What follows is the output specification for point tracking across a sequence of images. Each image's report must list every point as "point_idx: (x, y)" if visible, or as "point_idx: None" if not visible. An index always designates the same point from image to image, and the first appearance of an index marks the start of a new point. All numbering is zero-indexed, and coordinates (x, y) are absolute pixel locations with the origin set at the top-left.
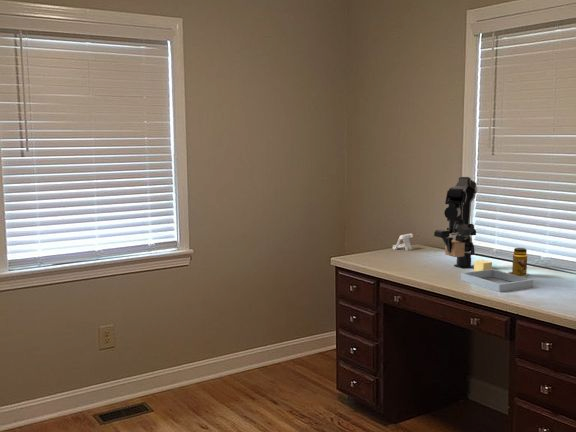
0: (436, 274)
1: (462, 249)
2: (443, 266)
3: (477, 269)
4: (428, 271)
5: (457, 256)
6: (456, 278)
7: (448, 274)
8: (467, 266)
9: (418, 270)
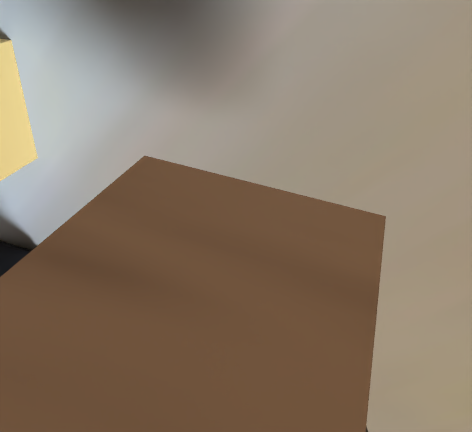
0: (389, 291)
1: (110, 258)
2: None
3: (8, 126)
4: None
5: (314, 205)
6: (379, 62)
7: None
8: (24, 251)
9: (383, 427)
